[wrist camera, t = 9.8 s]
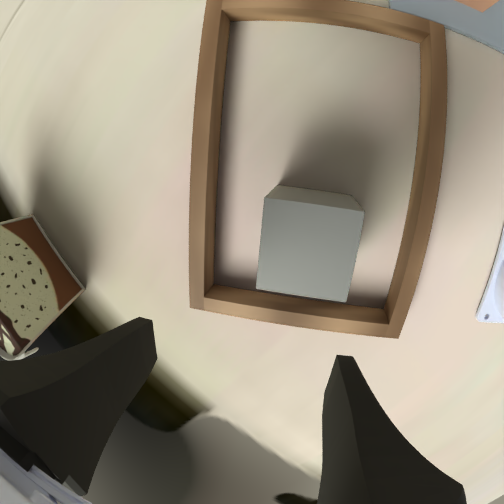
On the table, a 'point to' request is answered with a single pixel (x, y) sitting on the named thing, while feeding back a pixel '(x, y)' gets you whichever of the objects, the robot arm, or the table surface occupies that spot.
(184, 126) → the table surface
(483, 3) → the labelled block
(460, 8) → the slate mat
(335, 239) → the plain block
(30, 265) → the food container
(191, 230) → the walnut bin
